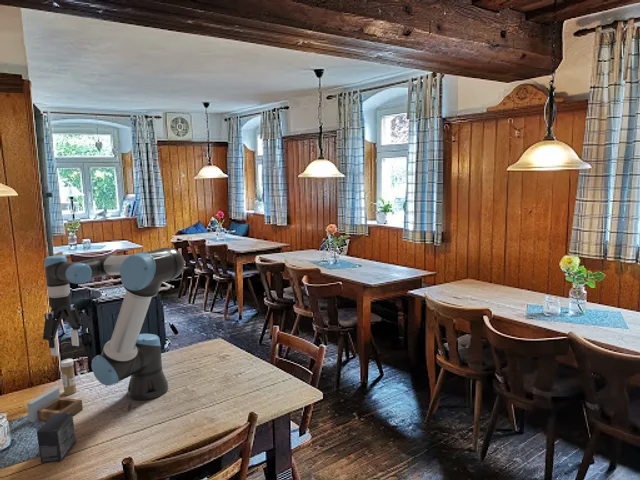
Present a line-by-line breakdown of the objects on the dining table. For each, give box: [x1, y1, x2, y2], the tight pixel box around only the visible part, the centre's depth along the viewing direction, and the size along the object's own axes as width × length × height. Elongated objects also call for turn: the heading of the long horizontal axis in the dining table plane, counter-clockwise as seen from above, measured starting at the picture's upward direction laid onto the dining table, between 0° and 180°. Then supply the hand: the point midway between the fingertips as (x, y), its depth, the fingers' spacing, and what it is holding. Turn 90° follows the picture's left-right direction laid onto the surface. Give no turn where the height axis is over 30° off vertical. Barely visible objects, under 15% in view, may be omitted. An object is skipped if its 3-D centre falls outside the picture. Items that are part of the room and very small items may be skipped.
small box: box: [36, 413, 77, 464], centre depth 144 cm, size 11×6×10 cm, turn 5°
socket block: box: [37, 396, 84, 423], centre depth 167 cm, size 10×10×4 cm
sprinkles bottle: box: [59, 358, 77, 396], centre depth 184 cm, size 5×5×14 cm
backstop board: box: [26, 387, 61, 423], centre depth 168 cm, size 2×12×7 cm, turn 165°
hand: (65, 350), depth 182 cm, fingers open, 10 cm apart
